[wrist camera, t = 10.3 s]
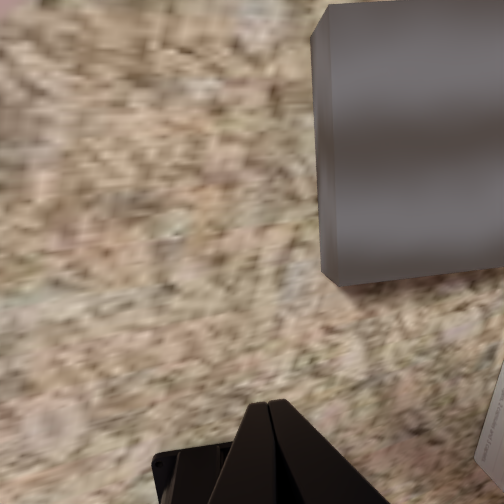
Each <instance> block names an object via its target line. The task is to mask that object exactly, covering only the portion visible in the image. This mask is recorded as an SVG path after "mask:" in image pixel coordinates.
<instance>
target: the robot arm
mask: <svg viewBox="0 0 504 504" xmlns="http://www.w3.org/2000/svg"><path fill="white" fill-rule="evenodd" d="M158 461H161V462H158ZM151 466H152V471H153V476H154V481H155V486H156V491H157V496H158V501H159V504H390V503H389V502H388V501H387V500H386V499H385V498H384V497H383V496H382V495H381V494H380V493H379V492H378V491H377V490H376V489H375V488H374V487H373V486H372V485H371V484H370V483H369V482H368V481H367V480H366V479H365V478H364V477H363V476H362V475H361V474H360V473H359V472H358V471H357V470H356V469H355V468H354V467H353V466H352V465H351V464H350V463H349V462H348V461H347V460H346V459H345V458H344V457H343V456H342V455H341V454H340V453H339V452H338V451H337V450H336V449H335V448H334V447H333V446H332V445H331V444H330V443H329V442H328V441H327V440H326V439H325V438H324V437H323V436H322V435H321V434H320V433H319V432H318V431H317V430H316V429H315V428H314V427H313V426H312V425H311V424H310V423H309V422H308V421H307V420H306V419H305V418H304V417H303V416H302V415H301V414H300V413H299V412H298V411H297V410H296V409H295V408H294V407H293V406H292V405H291V404H290V403H289V402H288V401H287V400H286V399H278V400H271V401H269V402H268V404H267V403H266V402H257V403H251V404H249V405H248V407H247V409H246V412H245V414H244V417H243V419H242V422H241V424H240V426H239V429H238V431H237V434H236V436H235V439H234V441H233V442H228V443H221V444H215V445H208V446H201V447H195V448H188V449H182V450H175V451H168V452H162V453H157V454H155V455H154V457H153V459H152V463H151Z"/></svg>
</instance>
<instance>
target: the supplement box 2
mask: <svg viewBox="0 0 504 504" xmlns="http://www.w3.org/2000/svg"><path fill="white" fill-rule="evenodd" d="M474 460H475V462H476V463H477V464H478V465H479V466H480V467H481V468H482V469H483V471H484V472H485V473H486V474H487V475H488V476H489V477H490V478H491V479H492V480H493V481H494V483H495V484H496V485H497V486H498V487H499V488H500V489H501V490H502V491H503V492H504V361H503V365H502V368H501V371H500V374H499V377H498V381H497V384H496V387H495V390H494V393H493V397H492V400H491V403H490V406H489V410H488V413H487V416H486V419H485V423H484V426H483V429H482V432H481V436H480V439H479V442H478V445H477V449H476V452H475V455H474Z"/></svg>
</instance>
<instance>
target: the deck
mask: <svg viewBox="0 0 504 504" xmlns="http://www.w3.org/2000/svg"><path fill="white" fill-rule="evenodd" d="M310 45H311V66H312V86H313V107H314V128H315V149H316V170H317V190H318V211H319V232H320V253H321V272H323V273H324V274H325V275H326V276H327V277H328V278H329V279H331V280H332V281H333V282H334V283H335V284H336V285H337V286H339V287H341V286H349V285H358V284H366V283H374V282H382V281H391V280H399V279H407V278H416V277H424V276H432V275H440V274H449V273H457V272H465V271H473V270H482V269H490V268H498V267H504V0H395V1H378V2H362V3H345V4H329V5H328V7H327V9H326V10H325V12H324V14H323V16H322V18H321V19H320V21H319V23H318V25H317V26H316V28H315V30H314V32H313V33H312V35H311V37H310Z"/></svg>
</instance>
